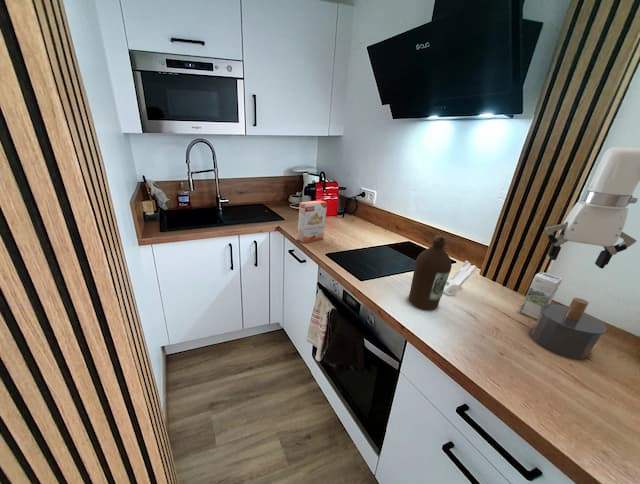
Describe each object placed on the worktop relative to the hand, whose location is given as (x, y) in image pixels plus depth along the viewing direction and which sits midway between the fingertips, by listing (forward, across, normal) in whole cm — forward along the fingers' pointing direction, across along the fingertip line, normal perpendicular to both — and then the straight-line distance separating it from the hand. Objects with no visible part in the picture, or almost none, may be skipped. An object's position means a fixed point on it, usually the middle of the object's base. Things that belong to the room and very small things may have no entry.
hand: (574, 262), depth 77 cm
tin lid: (+15, -3, +3) cm, 16 cm away
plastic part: (+24, +24, -16) cm, 38 cm away
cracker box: (+24, +91, -38) cm, 102 cm away
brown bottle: (+24, +33, 0) cm, 41 cm away
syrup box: (+24, 0, -11) cm, 27 cm away
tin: (+24, -3, +3) cm, 24 cm away
